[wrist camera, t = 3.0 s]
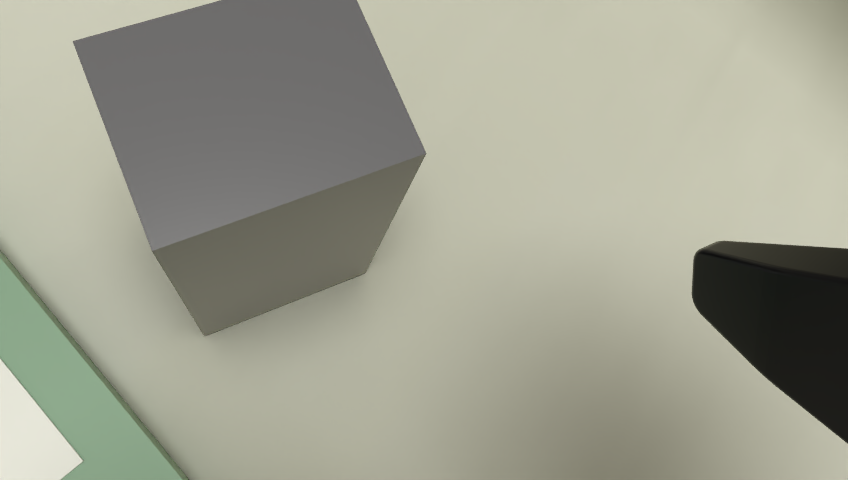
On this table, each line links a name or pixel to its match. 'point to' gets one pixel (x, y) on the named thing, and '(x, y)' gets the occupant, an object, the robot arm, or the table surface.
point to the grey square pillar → (255, 147)
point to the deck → (63, 403)
